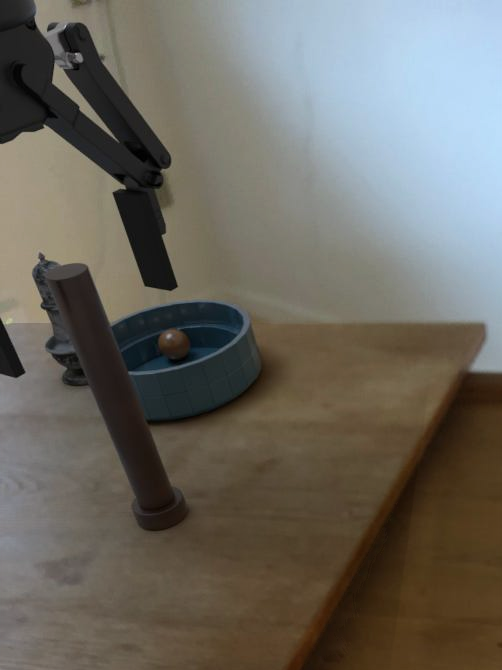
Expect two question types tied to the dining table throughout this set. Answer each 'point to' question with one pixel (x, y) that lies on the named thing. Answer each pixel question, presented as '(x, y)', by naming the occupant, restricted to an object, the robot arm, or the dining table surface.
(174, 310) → the bowl
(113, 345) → the brown pestle
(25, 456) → the dining table surface
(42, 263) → the salt shaker
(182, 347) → the brown ball
